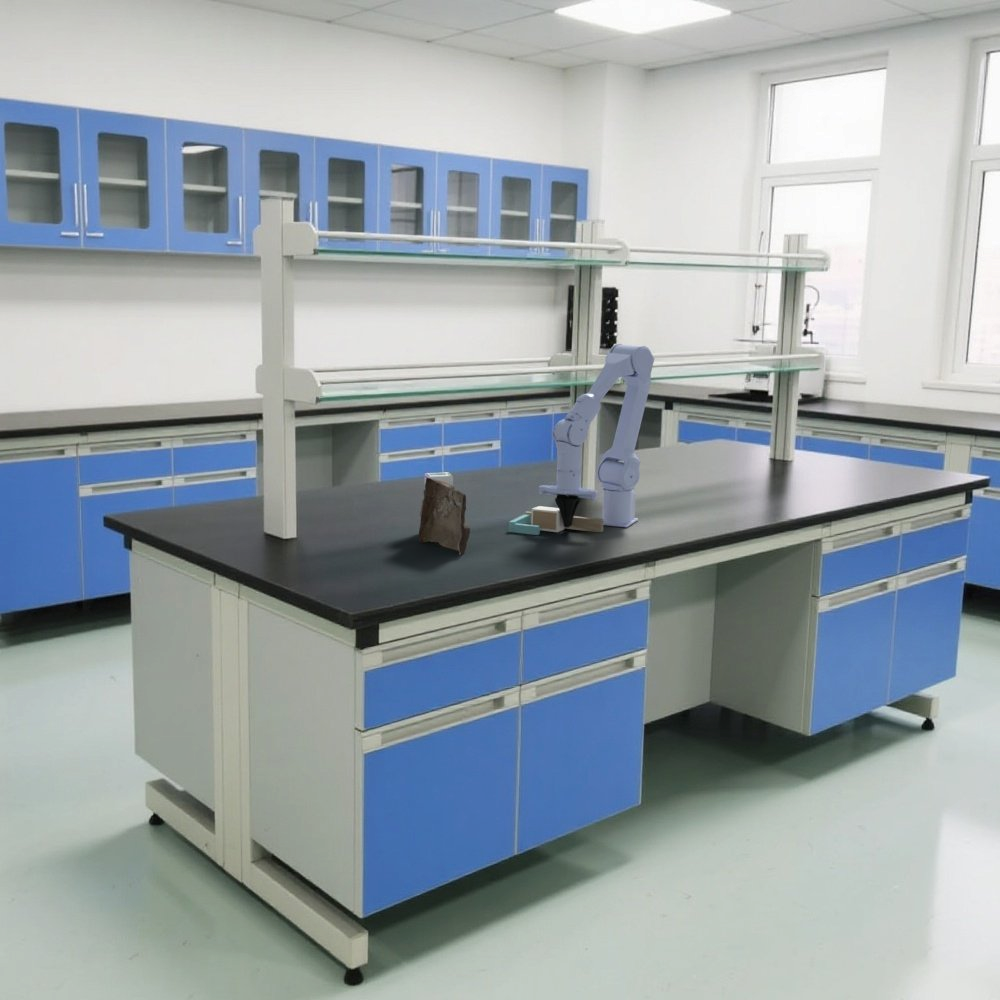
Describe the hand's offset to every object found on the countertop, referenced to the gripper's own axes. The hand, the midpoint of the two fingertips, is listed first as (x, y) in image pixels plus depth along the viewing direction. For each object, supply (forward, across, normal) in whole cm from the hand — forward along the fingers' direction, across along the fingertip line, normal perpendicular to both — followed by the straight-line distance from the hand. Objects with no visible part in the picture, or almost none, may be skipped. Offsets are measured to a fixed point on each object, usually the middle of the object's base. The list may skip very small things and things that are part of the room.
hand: (567, 526), depth 266 cm
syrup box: (+2, -27, -16) cm, 31 cm away
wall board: (+1, -2, +4) cm, 5 cm away
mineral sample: (+2, -19, -28) cm, 33 cm away
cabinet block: (+1, -5, 0) cm, 5 cm away
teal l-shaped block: (+1, -8, -2) cm, 9 cm away
